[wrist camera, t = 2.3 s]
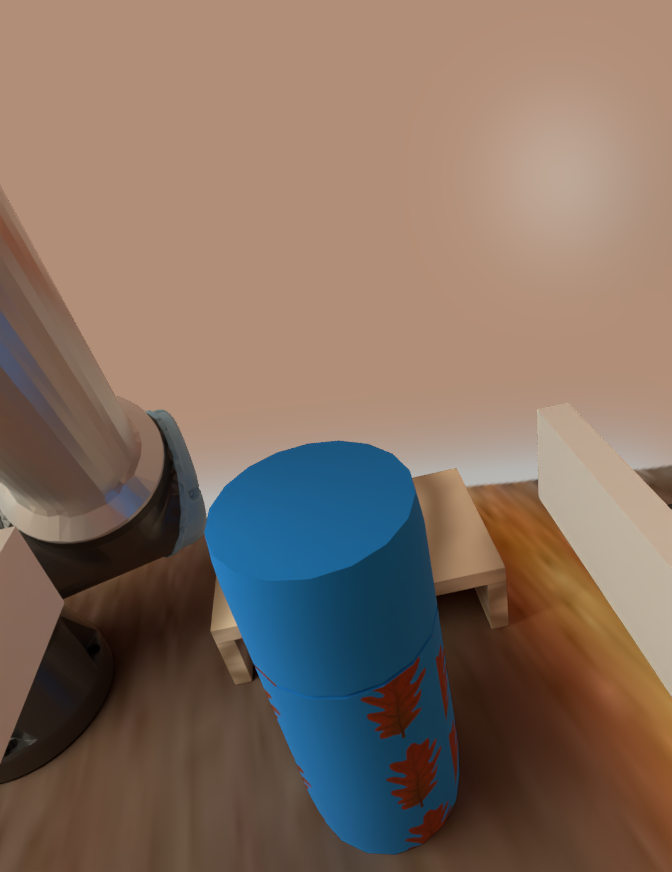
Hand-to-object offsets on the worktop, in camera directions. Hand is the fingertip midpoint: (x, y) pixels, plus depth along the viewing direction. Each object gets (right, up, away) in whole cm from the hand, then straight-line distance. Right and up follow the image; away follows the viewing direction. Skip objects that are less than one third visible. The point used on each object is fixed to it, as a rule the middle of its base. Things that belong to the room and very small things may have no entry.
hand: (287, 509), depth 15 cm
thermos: (+5, -22, +27) cm, 35 cm away
